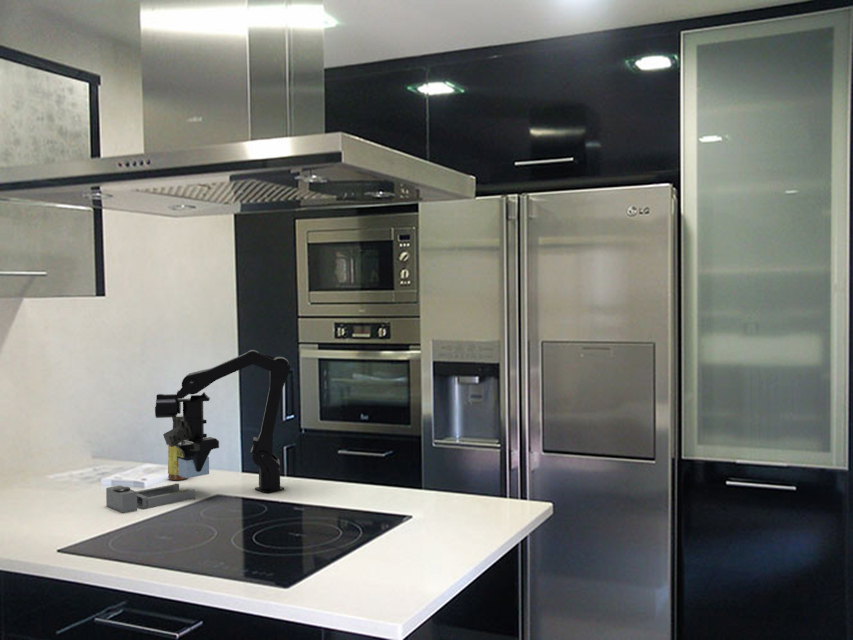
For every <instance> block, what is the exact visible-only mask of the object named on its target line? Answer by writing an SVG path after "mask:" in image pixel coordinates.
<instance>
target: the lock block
mask: <svg viewBox="0 0 853 640" xmlns="http://www.w3.org/2000/svg"><path fill="white" fill-rule="evenodd" d="M178 474H179V476H182V477H185V478H186V479H192V478H195V477H201V476H206V475H210V457H209V456H208V457H207V459H206V461H205V463H204V465H203V467H202V470H201V471H200V472H197V470H196V463H195V456H189V457H183V458H178Z"/></svg>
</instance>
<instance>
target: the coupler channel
mask: <svg viewBox="0 0 853 640" xmlns="http://www.w3.org/2000/svg"><path fill="white" fill-rule="evenodd" d="M105 491H106V492H105V495H106V497H105V498H106V507H108V508H110V509H112V510H114V509H115V510H114V511H117V512H119V513H121V512H122V514H126V513H130V511H131V512H136V511H138V508H139V509H141V510H144V509H145V510H146V509H150V508H155V507H160V506H164V505H169V504H176V503H178V502H179V501H180V502H183V501H184V500H185V501H188V499H189V500H195V499H196V490H195V489H194V488H191V489H184V490H180V483H173V484H168V485H163V486H158V487H152V488H147V489H141V490H137V491H136V490H134V489H131V487H129V486H124V485H115V486H110V487H106V489H105ZM180 502H179V503H180ZM125 512H126V513H125Z"/></svg>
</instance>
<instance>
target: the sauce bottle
mask: <svg viewBox="0 0 853 640" xmlns="http://www.w3.org/2000/svg"><path fill="white" fill-rule="evenodd" d="M171 419H172V429H174V428H176V427H179V422H180V420H183V414H178V415H177V417H171ZM167 448H168V451H167V453H168V454H167V455H168V456H167V459H168V460H167V475H168V477H167V478H168V480H171V481H183V480H186V479H187V478H185V477H182V476H179V474H178V458H183V454H182V451H181V450H180V449H179V448H177V447H176V446H171V445H167Z"/></svg>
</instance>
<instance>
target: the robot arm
mask: <svg viewBox="0 0 853 640" xmlns="http://www.w3.org/2000/svg"><path fill="white" fill-rule="evenodd" d="M252 365H254V366H256V367H259V368H261V369H264V370H266V371H269V389H268V394H267V398H266V405H265V408H264V409H265V410H264V413H263V414H264V415H263V419H262V423H261V430H260V433H259V435H258V437H255V436H253V440H252V441H253V443H252V447H251V448H250V455H252V461H253V463H254V464H255V465H256V466H258V467H259V468H258V486H257V487H254V491H255V490H256V491H258V490H259V491H258V492H262V491H263V492H262V493H265V492H266V494H269V493H273V491H274V492H278V491H277V490H279V491H282V490H281V489H283V490H285V489H284V488H285V487H284V486H281V469H280V466H281V464H280V459H279V457H278V456H276V454H274V453H273V450H274V444H273V443H274V441H273V439H274V433H275V431H274V430H275V426H276V421H277V416H278V412H279V411H278V410H279V408H280V407H279V406H280V401H281V396H282V391H283V388H284V386H285V384H286V383H287V378H288V377H289V374H290V371H291V365H290V362H289V360H288V359H287V358H285V357H283V356H277V357H274V356H271V355H268V354H265V353H263V352H259V351H257V350H255V349H250V350H248V351H247V352H245V353H243V354H241V355H238V356H236V357H234V358H232V359H229V360H227V361H224V362H222V363H220V364H218V365H216V366H213V367H210V368H206V369H202V370H197V371H193V372H189V373H188V374H186V376H184V378H183V379H182V381H181V388H180V389H179V390H178V389H177V392H176V393H173V394H163V393H157V394H156V400H155V405H154V406H155V407H154V413H155V414H154V415H155V418H156V419H161V418H162V419H165V418H172V417H177V415H181V413H182V415H183V420H180V422H179V427H176V428H174V429H173V428H171V429H170V430H168V431H167V432H164V433H163V438H164V442H165V443H166V445H167V446H168V445H171V446H176V447H177V448H179V449H180V450H181V451H182V454H183V457H189V456H195V463H196V470H197V472H200V471H201V470H202V467H203V465H204V463H205V461H206V459H207V457H209V455H210V453H211V451H212V450H215V449H220V440H218V439H217V438H216V437H211V436H209V437H208V436H207V435H208V434H207V433H205V431H204V424H207V419H204V402H209V401H210V399H211V397H209V396H208V395H207V393H206V392H205V391H203V390H204V389H206V388H207V387H209V386H210V385H211V384H213V383H214V382H216V381H218V380H220V379H222V378H225V377H226V376H228V375H231V374H233V373H236V372H238V371H240V370H243V369H244V368H247V367H249V366H252ZM201 391H203V392H202V393H201V394H198V393H200V392H201ZM188 395H190V398H189V397H188V398H185V397H187V396H188ZM268 492H269V493H268Z"/></svg>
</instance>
